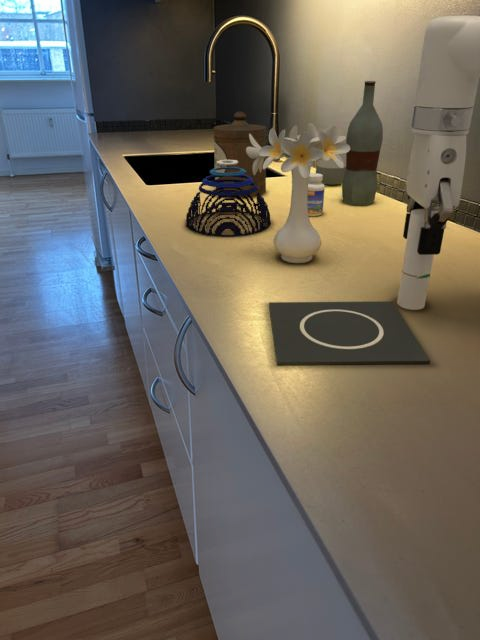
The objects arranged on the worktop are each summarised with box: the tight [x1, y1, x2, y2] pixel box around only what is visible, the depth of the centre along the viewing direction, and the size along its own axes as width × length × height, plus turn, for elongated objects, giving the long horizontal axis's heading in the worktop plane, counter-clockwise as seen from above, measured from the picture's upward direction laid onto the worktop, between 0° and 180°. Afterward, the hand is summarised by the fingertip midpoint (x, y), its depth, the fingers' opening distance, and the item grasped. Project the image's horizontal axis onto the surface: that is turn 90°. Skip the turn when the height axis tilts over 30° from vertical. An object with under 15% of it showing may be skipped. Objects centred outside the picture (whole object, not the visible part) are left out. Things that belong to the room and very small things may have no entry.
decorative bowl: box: [185, 160, 272, 238], centre depth 119 cm, size 20×20×14 cm
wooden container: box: [213, 111, 267, 199], centre depth 145 cm, size 15×15×22 cm
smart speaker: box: [315, 135, 347, 187], centre depth 156 cm, size 10×9×14 cm
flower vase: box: [246, 122, 350, 264], centre depth 95 cm, size 13×18×25 cm
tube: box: [396, 209, 438, 311], centre depth 79 cm, size 4×4×15 cm
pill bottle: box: [308, 172, 326, 217], centre depth 127 cm, size 5×5×10 cm
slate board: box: [268, 301, 431, 366], centre depth 75 cm, size 20×18×1 cm
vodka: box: [341, 80, 384, 207], centre depth 133 cm, size 9×9×30 cm
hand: (420, 244), depth 78 cm, fingers open, 6 cm apart
